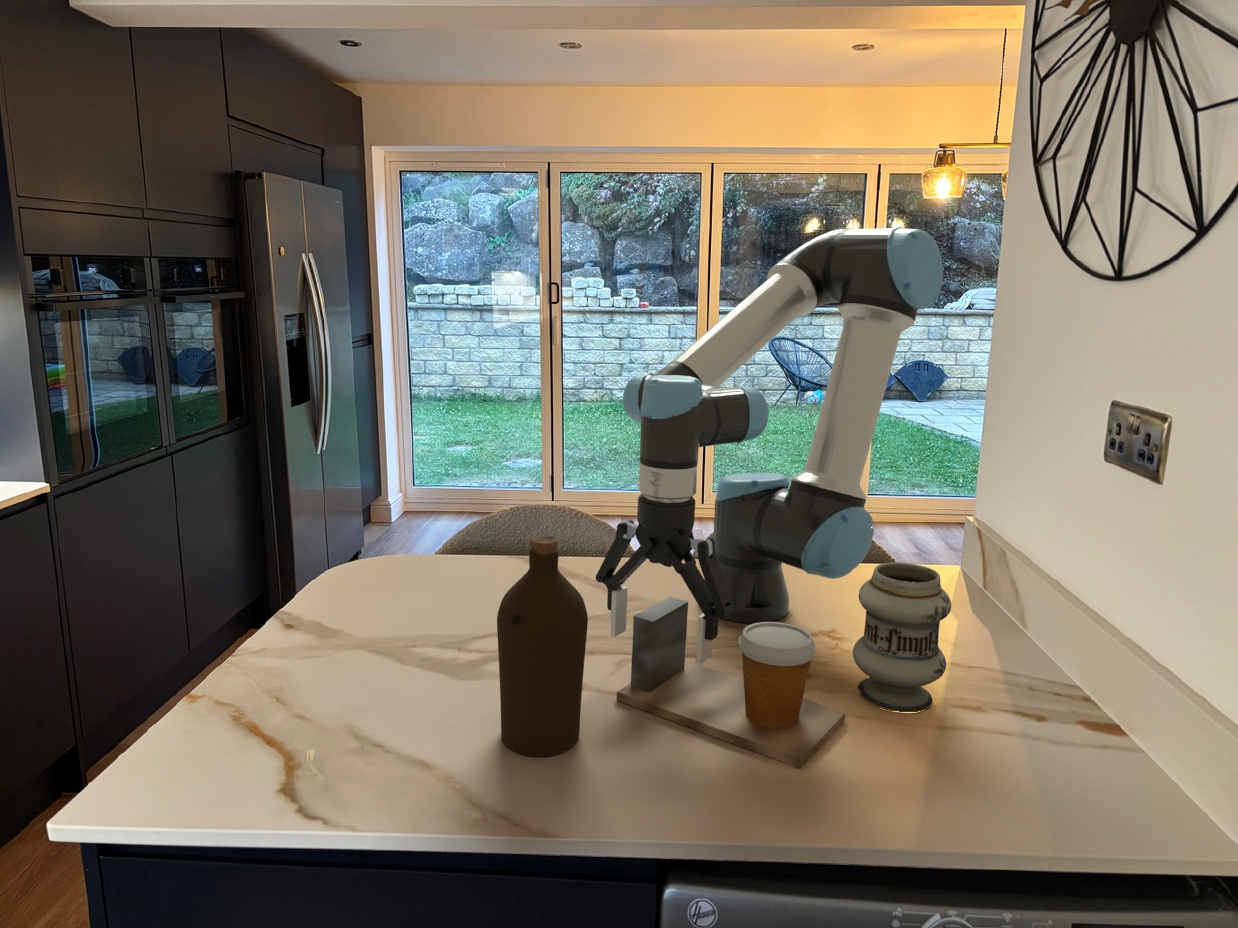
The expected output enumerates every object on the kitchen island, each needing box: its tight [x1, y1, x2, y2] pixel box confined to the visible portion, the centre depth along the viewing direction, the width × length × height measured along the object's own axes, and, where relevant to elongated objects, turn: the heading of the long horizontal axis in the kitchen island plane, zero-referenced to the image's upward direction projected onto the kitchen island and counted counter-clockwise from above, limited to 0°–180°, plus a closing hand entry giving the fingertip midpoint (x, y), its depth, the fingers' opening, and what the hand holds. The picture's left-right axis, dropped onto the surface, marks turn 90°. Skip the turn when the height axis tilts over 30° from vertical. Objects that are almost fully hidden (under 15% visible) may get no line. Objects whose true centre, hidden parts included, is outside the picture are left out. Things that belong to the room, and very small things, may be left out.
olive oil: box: [496, 535, 589, 758], centre depth 103 cm, size 11×11×25 cm
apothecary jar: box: [852, 561, 952, 712], centre depth 117 cm, size 12×12×18 cm
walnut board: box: [616, 596, 847, 769], centre depth 112 cm, size 26×14×11 cm, turn 55°
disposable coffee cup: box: [737, 621, 817, 729], centre depth 109 cm, size 10×10×12 cm
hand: (659, 646), depth 119 cm, fingers open, 13 cm apart
